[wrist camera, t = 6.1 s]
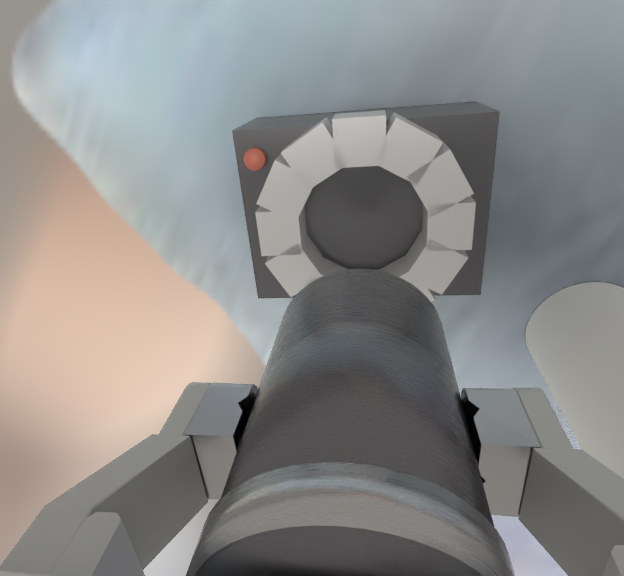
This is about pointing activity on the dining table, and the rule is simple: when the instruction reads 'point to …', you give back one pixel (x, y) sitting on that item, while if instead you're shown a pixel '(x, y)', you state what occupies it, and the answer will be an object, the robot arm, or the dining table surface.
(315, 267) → the camera body
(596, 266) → the dining table surface
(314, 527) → the lens
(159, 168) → the dining table surface
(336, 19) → the dining table surface
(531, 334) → the cylindrical container
